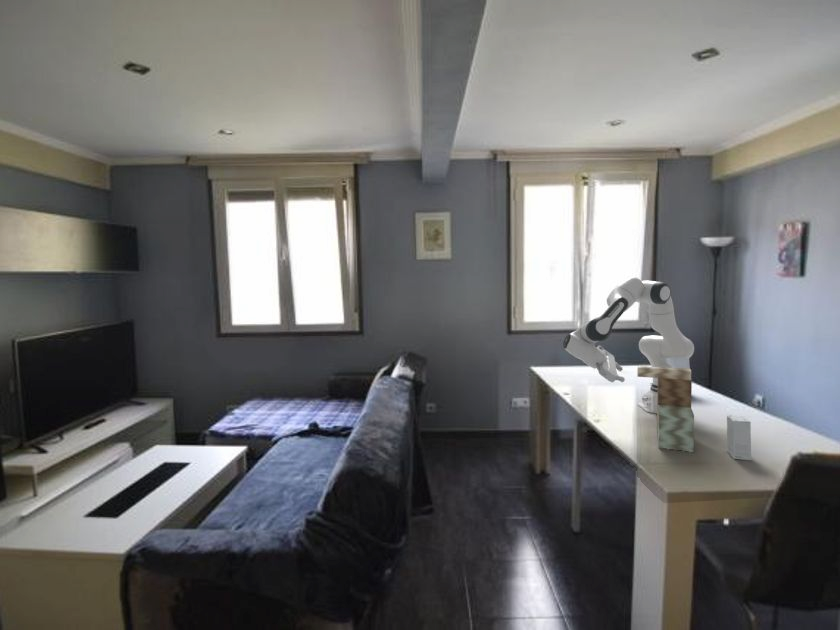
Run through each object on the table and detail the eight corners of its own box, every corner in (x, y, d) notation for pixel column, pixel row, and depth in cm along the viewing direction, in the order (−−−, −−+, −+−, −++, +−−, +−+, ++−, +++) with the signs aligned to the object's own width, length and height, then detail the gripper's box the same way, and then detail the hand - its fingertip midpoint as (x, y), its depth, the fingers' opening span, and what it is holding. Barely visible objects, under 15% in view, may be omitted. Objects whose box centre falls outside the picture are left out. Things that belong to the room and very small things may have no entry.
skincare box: (751, 461, 161) (752, 422, 160) (732, 459, 164) (733, 420, 163) (743, 452, 169) (745, 415, 168) (725, 451, 171) (726, 414, 170)
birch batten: (637, 376, 190) (637, 367, 190) (637, 374, 193) (637, 365, 193) (691, 380, 181) (691, 370, 180) (690, 378, 184) (690, 368, 184)
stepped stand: (658, 448, 176) (659, 385, 174) (656, 432, 194) (657, 375, 192) (693, 452, 171) (694, 387, 169) (688, 436, 188) (689, 377, 186)
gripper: (601, 365, 187) (629, 382, 186) (599, 343, 205) (625, 359, 204) (592, 375, 190) (620, 392, 189) (591, 353, 208) (616, 368, 207)
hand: (622, 375), depth 197 cm, fingers open, 8 cm apart
